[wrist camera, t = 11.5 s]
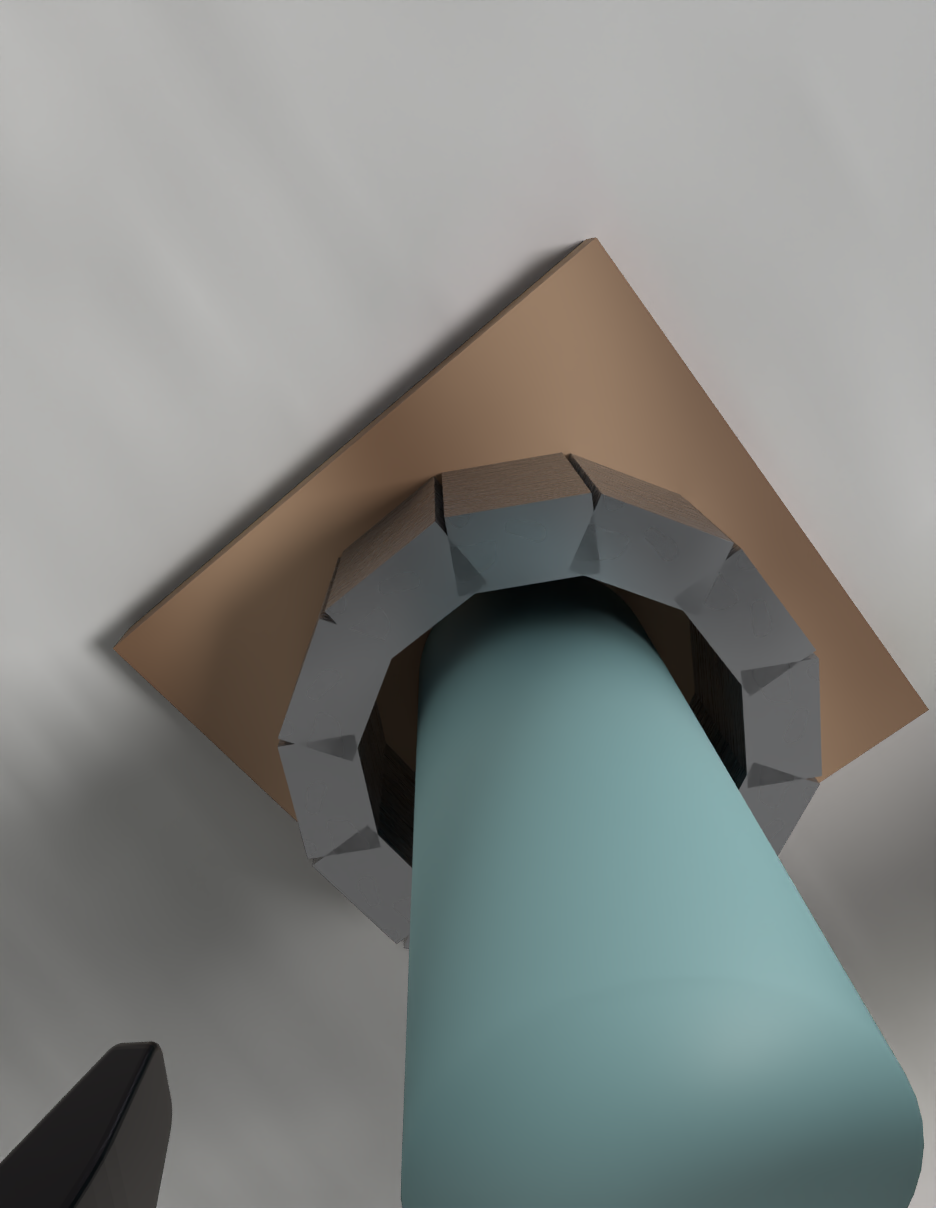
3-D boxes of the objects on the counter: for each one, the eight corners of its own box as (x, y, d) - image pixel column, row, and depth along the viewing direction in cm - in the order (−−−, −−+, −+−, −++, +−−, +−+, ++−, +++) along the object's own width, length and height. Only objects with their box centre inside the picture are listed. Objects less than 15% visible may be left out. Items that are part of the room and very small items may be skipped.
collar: (579, 356, 15) (615, 376, 12) (837, 702, 17) (916, 786, 15) (215, 656, 17) (170, 735, 14) (498, 934, 19) (511, 1049, 16)
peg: (558, 518, 16) (739, 877, 6) (697, 690, 17) (1015, 1198, 8) (370, 665, 17) (289, 1167, 7) (515, 818, 18) (605, 1414, 9)
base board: (586, 239, 15) (595, 237, 14) (903, 687, 18) (928, 709, 18) (129, 627, 17) (112, 648, 16) (486, 968, 21) (489, 1001, 20)
